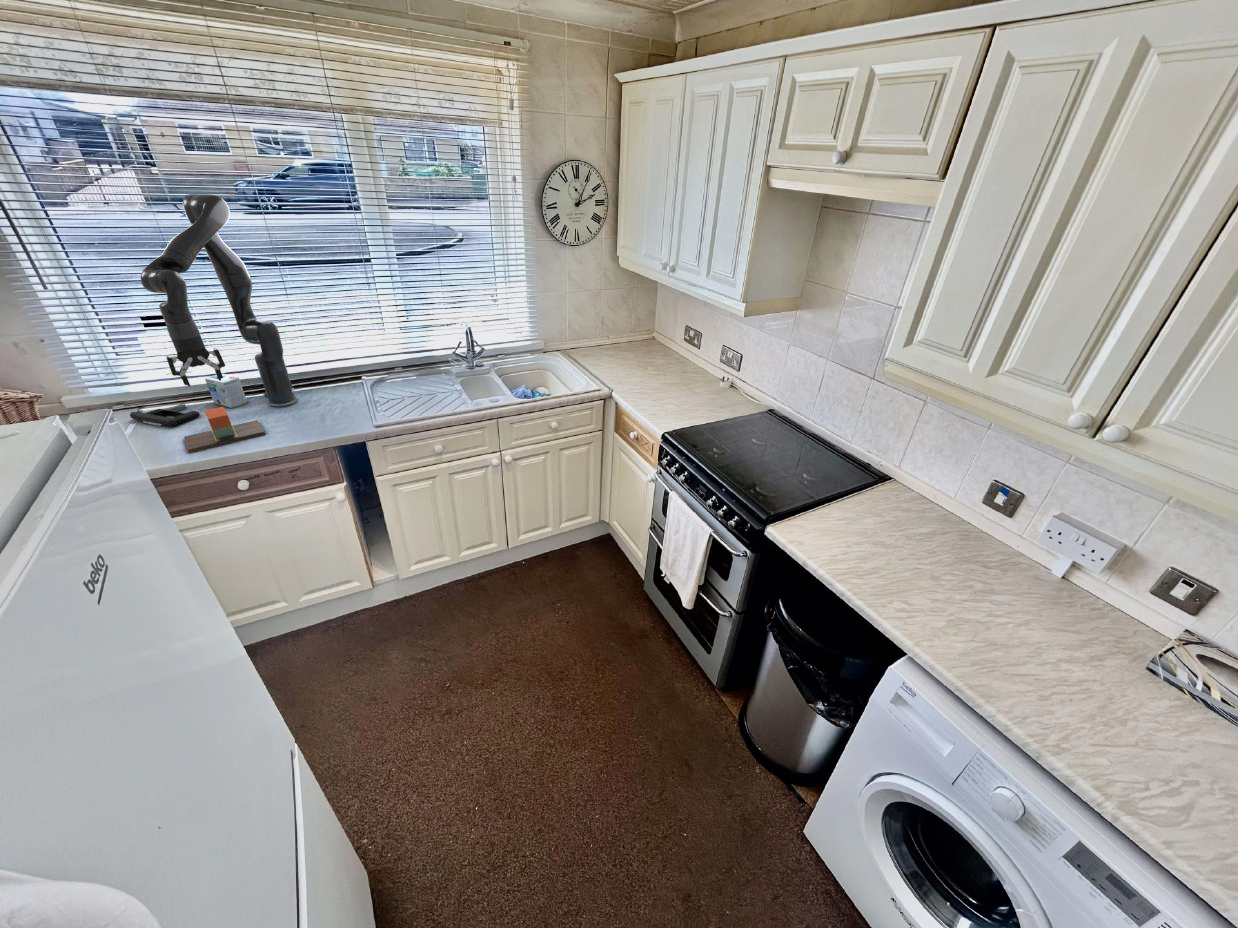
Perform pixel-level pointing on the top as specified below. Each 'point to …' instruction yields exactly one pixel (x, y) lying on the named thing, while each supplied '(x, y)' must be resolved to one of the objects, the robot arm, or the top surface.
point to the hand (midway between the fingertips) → (204, 382)
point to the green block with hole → (223, 432)
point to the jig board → (209, 440)
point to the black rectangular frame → (165, 416)
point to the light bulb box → (226, 390)
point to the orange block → (218, 418)
